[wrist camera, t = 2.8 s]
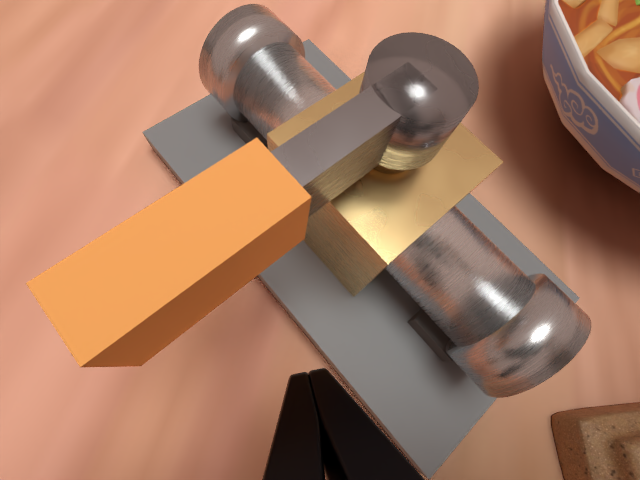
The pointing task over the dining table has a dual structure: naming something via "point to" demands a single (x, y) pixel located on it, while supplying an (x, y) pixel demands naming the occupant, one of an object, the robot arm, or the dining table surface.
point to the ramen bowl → (597, 78)
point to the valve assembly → (384, 250)
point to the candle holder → (599, 442)
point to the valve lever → (250, 208)
